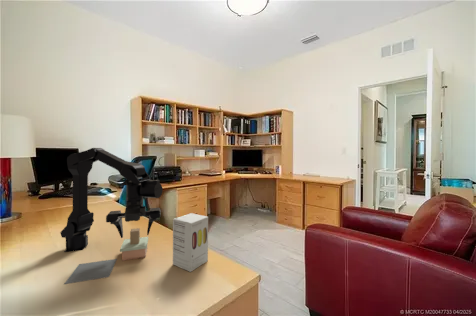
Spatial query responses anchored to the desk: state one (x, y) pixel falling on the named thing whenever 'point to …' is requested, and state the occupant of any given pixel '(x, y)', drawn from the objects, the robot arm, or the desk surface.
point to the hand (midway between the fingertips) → (135, 236)
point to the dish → (134, 254)
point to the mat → (91, 271)
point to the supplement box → (190, 241)
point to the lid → (134, 241)
